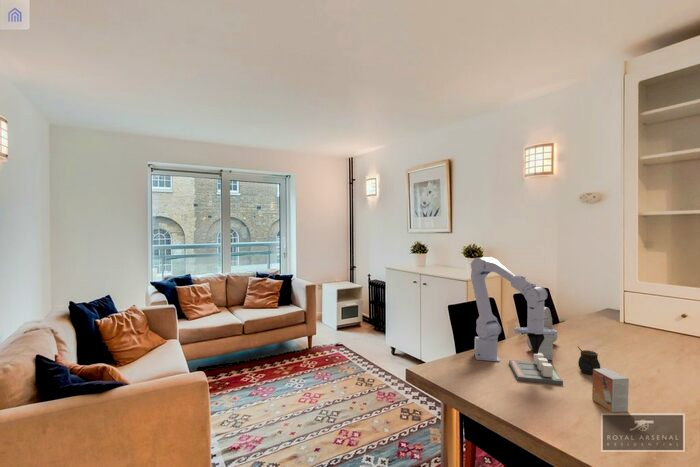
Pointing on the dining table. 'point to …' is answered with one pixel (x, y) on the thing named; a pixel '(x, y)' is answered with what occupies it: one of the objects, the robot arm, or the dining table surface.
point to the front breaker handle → (547, 369)
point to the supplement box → (547, 347)
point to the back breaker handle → (537, 357)
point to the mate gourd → (588, 361)
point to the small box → (610, 390)
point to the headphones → (545, 325)
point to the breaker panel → (532, 373)
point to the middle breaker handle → (541, 360)
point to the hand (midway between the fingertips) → (535, 352)
